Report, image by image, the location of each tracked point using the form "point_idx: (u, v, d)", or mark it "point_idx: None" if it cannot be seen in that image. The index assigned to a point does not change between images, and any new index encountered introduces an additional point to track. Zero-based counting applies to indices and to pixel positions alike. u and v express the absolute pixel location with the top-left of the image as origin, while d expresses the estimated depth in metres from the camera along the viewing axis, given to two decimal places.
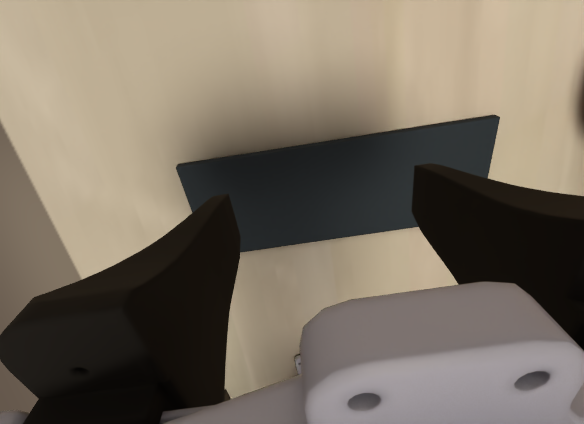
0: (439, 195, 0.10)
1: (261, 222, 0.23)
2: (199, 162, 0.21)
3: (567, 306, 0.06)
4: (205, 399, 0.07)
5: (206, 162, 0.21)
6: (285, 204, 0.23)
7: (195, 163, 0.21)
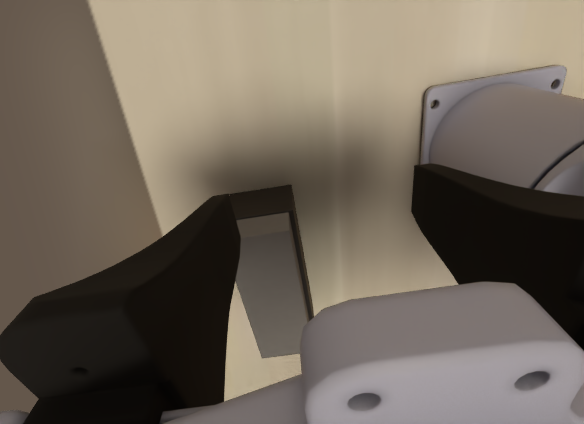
0: (439, 195, 0.10)
1: None
2: None
3: (567, 306, 0.06)
4: (205, 399, 0.07)
5: None
6: None
7: None
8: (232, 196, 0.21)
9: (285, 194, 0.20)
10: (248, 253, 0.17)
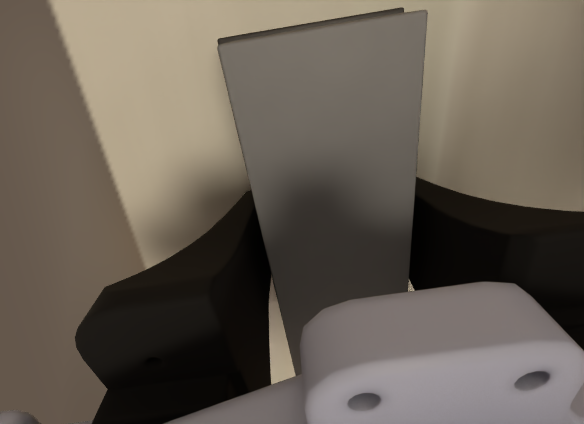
0: None
1: None
2: None
3: None
4: None
5: None
6: None
7: None
8: None
9: None
10: (295, 99, 0.06)
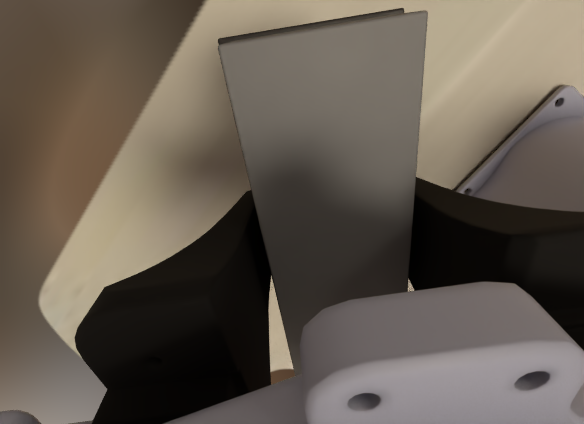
0: None
1: None
2: None
3: None
4: None
5: None
6: None
7: None
8: None
9: None
10: (294, 100, 0.06)
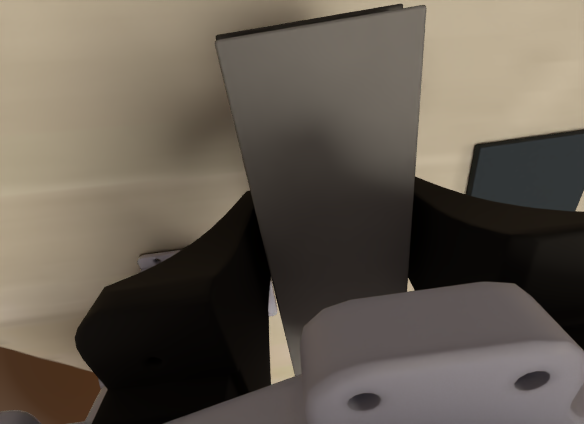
0: None
1: None
2: None
3: None
4: None
5: None
6: None
7: None
8: None
9: None
10: (292, 95, 0.06)
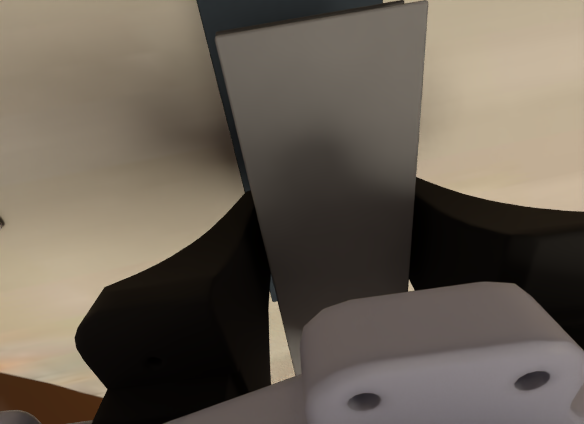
0: None
1: None
2: None
3: None
4: None
5: None
6: None
7: None
8: None
9: None
10: (293, 92, 0.06)
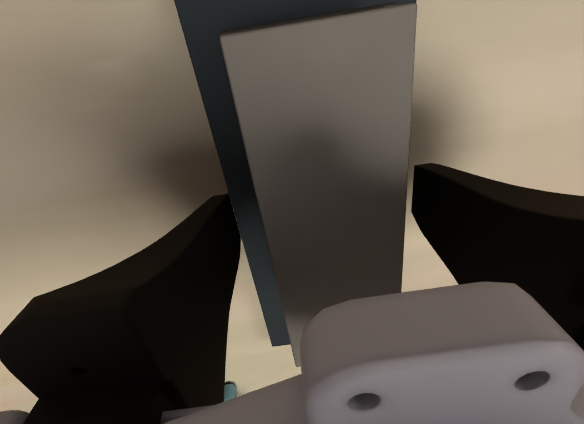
0: (439, 195, 0.10)
1: None
2: None
3: (567, 306, 0.06)
4: (205, 399, 0.07)
5: None
6: None
7: None
8: None
9: None
10: (292, 88, 0.06)
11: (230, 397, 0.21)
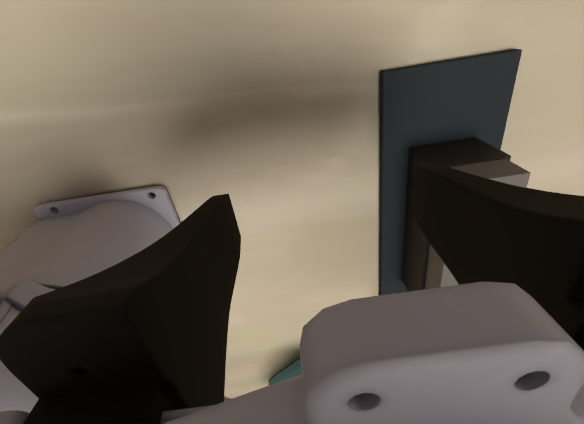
0: (439, 195, 0.10)
1: None
2: (513, 79, 0.19)
3: (567, 306, 0.06)
4: (205, 399, 0.07)
5: (512, 88, 0.19)
6: None
7: (514, 74, 0.18)
8: (416, 149, 0.20)
9: (481, 144, 0.19)
10: None
11: None
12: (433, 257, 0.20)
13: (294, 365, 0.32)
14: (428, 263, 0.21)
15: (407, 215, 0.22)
